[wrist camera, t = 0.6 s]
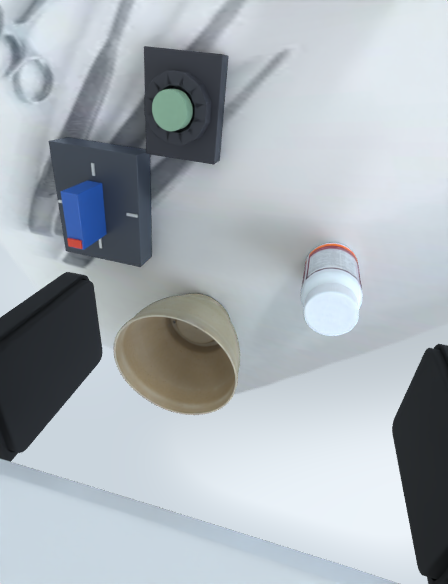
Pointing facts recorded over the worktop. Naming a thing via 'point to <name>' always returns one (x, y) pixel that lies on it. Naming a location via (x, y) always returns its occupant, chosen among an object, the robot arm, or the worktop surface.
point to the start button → (172, 109)
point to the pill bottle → (331, 289)
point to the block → (202, 93)
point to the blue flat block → (84, 214)
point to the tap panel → (109, 195)
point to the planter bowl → (180, 354)
